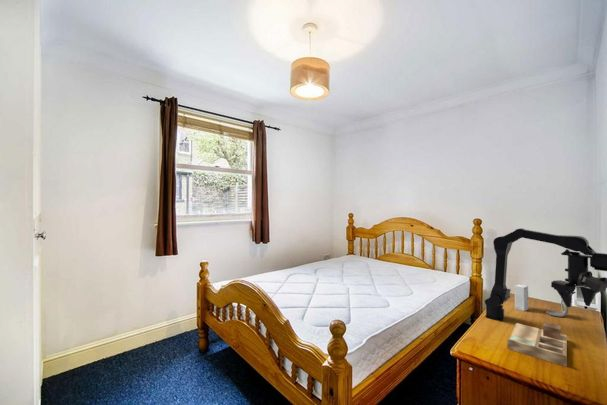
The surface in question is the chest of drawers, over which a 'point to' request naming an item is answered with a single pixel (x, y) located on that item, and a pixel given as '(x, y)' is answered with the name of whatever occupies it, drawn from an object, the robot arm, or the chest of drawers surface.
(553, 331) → the walnut block
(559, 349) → the board
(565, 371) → the chest of drawers surface
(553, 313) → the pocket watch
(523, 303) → the skincare box
